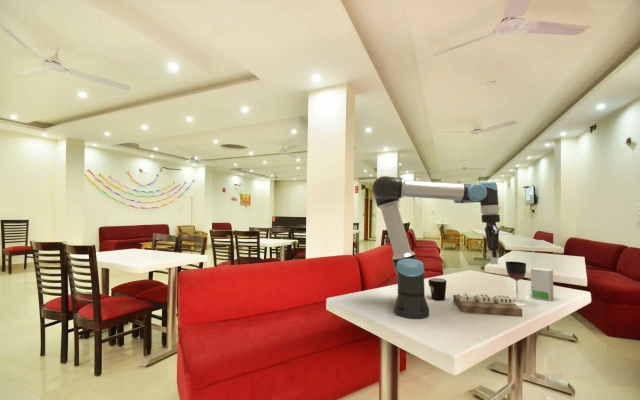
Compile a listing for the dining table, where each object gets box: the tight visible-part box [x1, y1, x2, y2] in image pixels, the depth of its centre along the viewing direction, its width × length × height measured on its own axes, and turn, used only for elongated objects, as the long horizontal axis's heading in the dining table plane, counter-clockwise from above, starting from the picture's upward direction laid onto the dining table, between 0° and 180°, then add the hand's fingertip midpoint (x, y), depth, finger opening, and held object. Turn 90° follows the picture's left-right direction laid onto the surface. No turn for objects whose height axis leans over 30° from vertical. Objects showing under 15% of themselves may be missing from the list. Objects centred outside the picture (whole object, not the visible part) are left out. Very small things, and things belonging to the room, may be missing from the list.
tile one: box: [457, 292, 475, 302], centre depth 137 cm, size 6×6×3 cm
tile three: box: [493, 294, 514, 305], centre depth 133 cm, size 6×6×3 cm
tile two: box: [475, 293, 494, 303], centre depth 135 cm, size 6×6×3 cm
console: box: [453, 294, 523, 318], centre depth 135 cm, size 24×18×3 cm
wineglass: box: [505, 260, 528, 307], centre depth 142 cm, size 8×9×20 cm
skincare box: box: [530, 267, 554, 302], centre depth 150 cm, size 8×7×16 cm
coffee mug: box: [427, 277, 447, 302], centre depth 152 cm, size 12×9×10 cm
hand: (494, 264), depth 135 cm, fingers closed
